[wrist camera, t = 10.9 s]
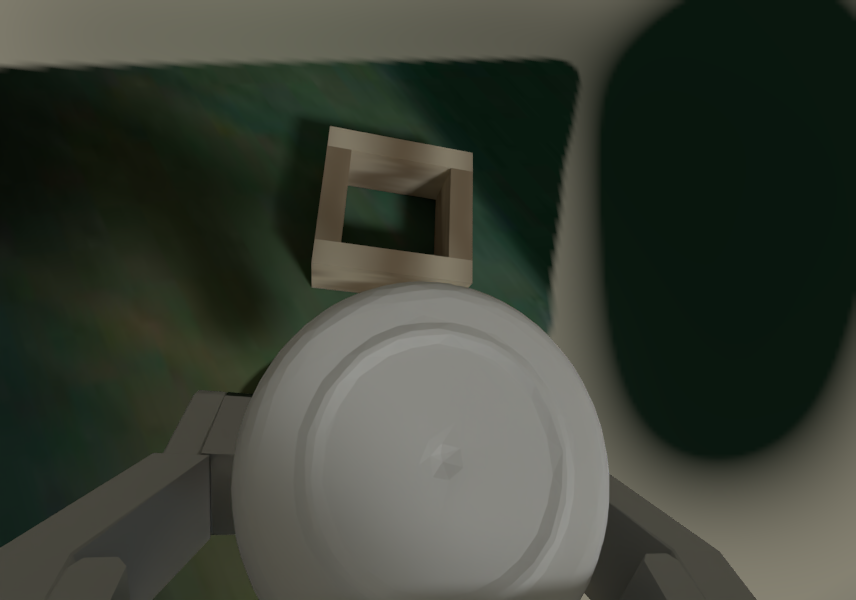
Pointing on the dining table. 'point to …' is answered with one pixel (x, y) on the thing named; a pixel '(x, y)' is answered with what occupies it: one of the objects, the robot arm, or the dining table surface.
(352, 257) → the holder collar
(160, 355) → the dining table surface
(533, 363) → the sprinkles bottle
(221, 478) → the robot arm
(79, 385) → the dining table surface
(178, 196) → the dining table surface
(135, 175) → the dining table surface
